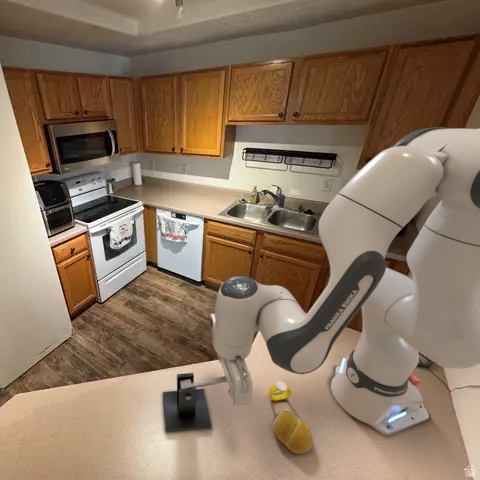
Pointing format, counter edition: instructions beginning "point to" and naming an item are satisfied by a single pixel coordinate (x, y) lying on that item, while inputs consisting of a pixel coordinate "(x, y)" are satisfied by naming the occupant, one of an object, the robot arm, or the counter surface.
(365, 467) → the counter surface
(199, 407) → the bracket
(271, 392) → the watch
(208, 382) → the lever
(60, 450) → the counter surface
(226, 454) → the counter surface
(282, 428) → the bread roll
